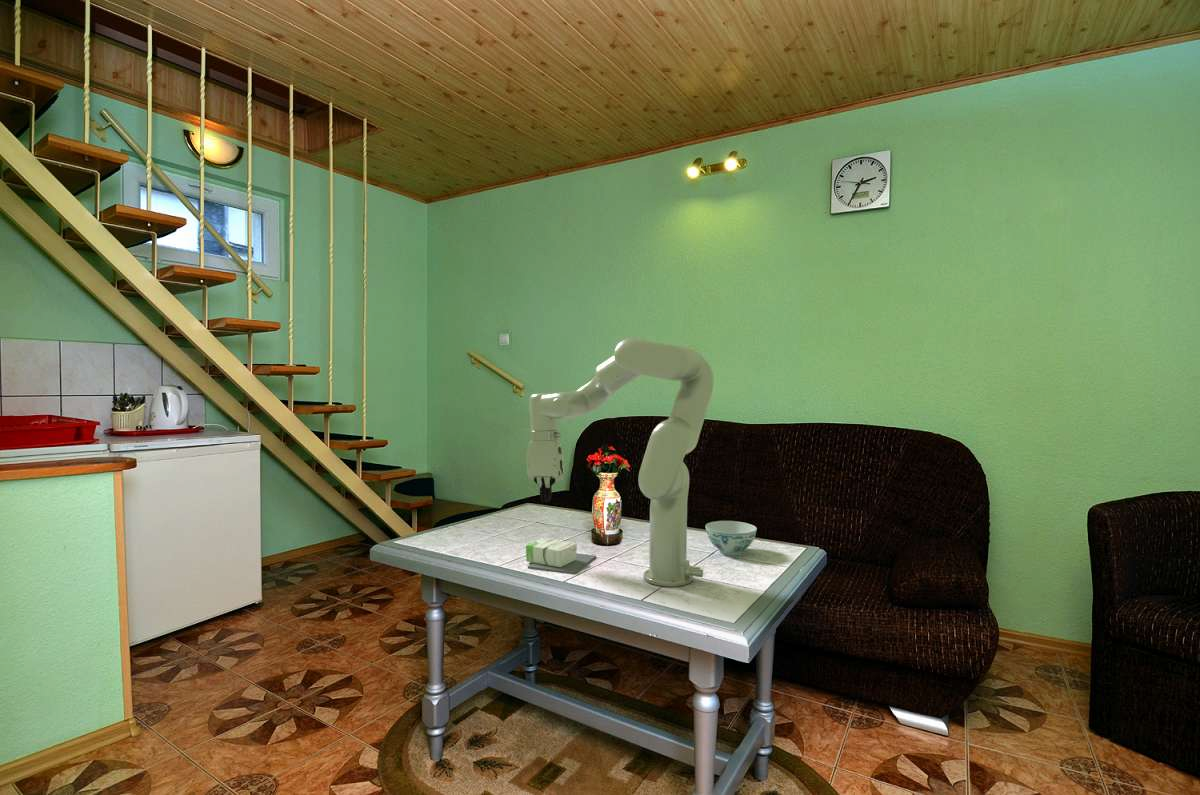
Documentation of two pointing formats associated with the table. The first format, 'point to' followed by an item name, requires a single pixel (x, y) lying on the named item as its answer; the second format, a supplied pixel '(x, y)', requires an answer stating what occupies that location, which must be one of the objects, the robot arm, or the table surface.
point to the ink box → (551, 552)
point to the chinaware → (731, 536)
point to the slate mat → (568, 568)
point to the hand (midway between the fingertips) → (545, 500)
